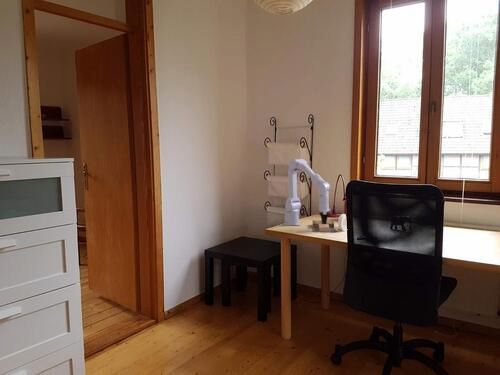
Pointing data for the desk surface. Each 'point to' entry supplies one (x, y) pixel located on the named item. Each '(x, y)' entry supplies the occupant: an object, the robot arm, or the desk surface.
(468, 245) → the desk surface
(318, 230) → the mat
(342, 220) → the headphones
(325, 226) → the tile
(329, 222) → the deck
